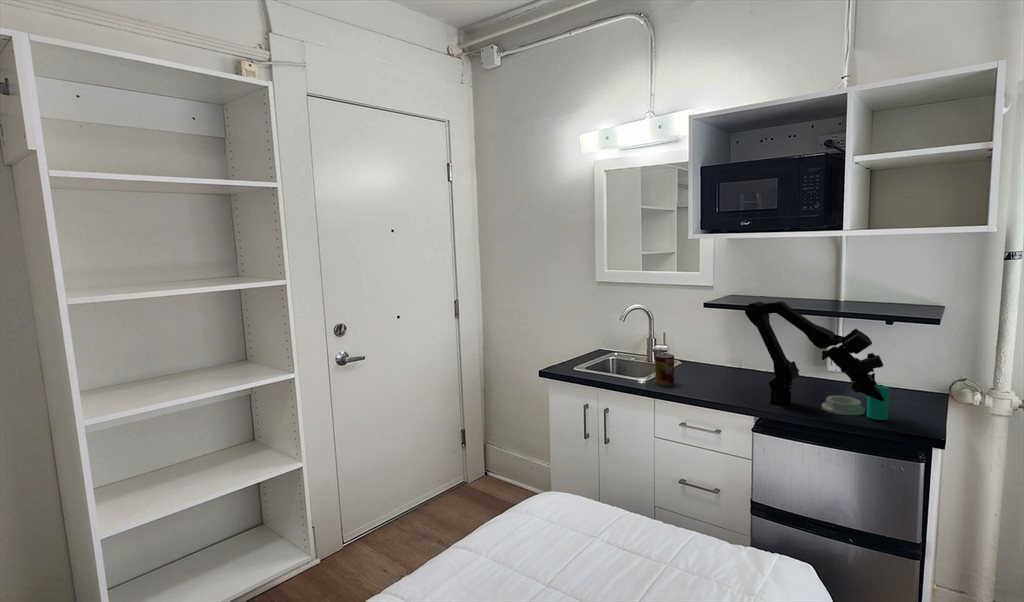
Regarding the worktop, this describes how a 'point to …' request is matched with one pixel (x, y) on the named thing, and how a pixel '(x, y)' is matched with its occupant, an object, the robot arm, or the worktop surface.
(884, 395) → the candle
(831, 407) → the candle dish
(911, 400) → the worktop surface
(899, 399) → the worktop surface
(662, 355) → the canned food
